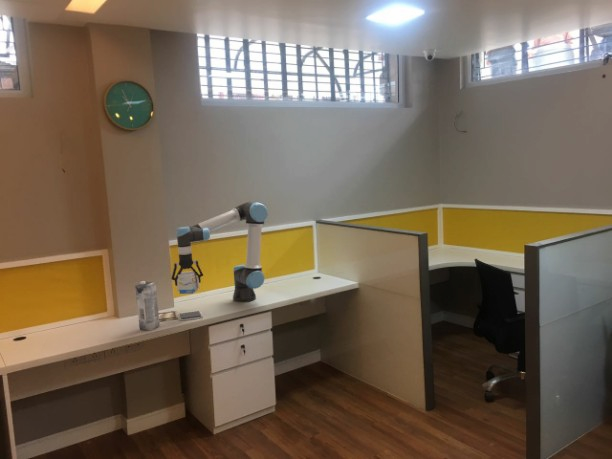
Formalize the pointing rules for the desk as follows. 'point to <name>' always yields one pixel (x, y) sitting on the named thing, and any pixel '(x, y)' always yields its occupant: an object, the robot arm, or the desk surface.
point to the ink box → (187, 282)
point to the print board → (168, 316)
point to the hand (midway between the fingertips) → (188, 289)
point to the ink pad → (190, 315)
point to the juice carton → (147, 305)
